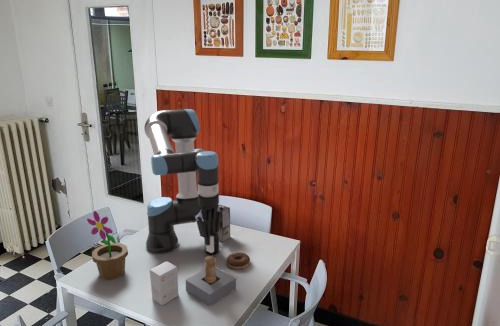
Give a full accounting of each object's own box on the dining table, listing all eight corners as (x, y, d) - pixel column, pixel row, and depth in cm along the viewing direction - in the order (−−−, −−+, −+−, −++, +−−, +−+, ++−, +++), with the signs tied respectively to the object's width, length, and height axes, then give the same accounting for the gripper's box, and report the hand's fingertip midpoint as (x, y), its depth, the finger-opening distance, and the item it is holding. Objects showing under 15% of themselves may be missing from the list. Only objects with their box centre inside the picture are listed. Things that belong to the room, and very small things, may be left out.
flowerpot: (86, 278, 160) (77, 211, 151) (110, 260, 173) (103, 198, 164) (114, 285, 155) (106, 217, 146) (136, 267, 168) (130, 203, 159)
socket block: (186, 290, 152) (185, 279, 151) (212, 275, 162) (211, 265, 161) (210, 306, 143) (209, 294, 142) (236, 289, 153) (236, 278, 152)
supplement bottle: (205, 256, 176) (204, 232, 173) (204, 248, 183) (203, 226, 179) (219, 255, 178) (219, 231, 174) (218, 247, 184) (218, 225, 180)
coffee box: (231, 236, 195) (230, 207, 190) (223, 241, 190) (222, 211, 185) (217, 231, 200) (216, 203, 195) (208, 236, 195) (208, 207, 190)
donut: (247, 272, 165) (247, 264, 164) (223, 269, 167) (223, 261, 166) (252, 259, 175) (252, 251, 174) (229, 256, 177) (229, 248, 176)
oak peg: (203, 290, 152) (202, 259, 148) (211, 285, 155) (210, 254, 151) (210, 294, 150) (209, 263, 145) (218, 289, 153) (217, 258, 148)
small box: (168, 289, 153) (166, 260, 149) (179, 295, 149) (177, 266, 145) (151, 299, 147) (149, 269, 143) (162, 306, 143) (159, 275, 139)
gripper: (201, 201, 133) (204, 261, 140) (228, 191, 143) (229, 248, 150) (187, 196, 138) (190, 254, 145) (214, 186, 147) (215, 241, 154)
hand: (210, 251), depth 147 cm, fingers closed
